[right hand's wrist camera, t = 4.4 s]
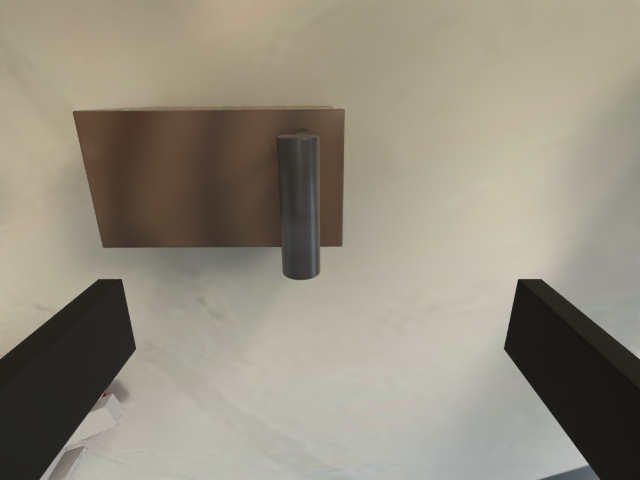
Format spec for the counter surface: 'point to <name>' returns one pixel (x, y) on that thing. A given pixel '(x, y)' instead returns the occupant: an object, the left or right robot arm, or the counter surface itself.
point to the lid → (218, 179)
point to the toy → (85, 436)
